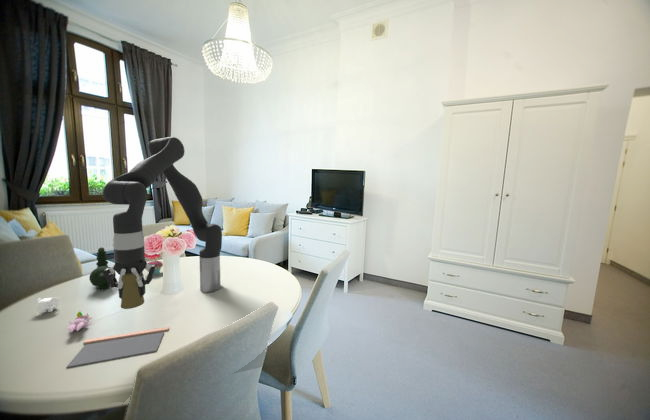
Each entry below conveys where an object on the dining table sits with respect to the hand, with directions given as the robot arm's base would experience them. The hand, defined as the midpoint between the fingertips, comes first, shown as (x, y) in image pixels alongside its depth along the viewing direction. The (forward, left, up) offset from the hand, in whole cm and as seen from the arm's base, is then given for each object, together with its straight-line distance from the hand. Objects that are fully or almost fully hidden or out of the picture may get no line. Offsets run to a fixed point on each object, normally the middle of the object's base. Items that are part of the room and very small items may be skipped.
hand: (132, 297), depth 79 cm
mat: (+4, 0, -17) cm, 17 cm away
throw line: (+4, -7, -17) cm, 19 cm away
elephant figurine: (+39, -35, -17) cm, 55 cm away
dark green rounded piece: (+30, -58, -17) cm, 67 cm away
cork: (0, 0, -2) cm, 2 cm away
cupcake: (+11, -69, -17) cm, 72 cm away
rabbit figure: (+22, -18, -17) cm, 33 cm away
